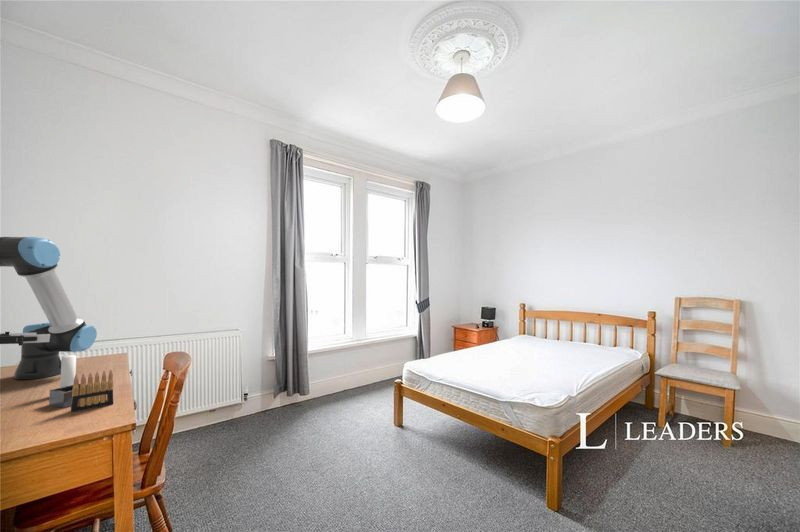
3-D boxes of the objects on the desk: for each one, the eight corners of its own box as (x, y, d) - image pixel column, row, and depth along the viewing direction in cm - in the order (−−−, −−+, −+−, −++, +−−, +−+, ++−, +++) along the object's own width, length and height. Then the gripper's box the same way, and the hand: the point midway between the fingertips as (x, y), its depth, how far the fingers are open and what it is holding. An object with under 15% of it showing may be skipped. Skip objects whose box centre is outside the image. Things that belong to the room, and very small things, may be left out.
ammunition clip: (70, 412, 112) (72, 375, 112) (70, 410, 113) (72, 374, 113) (113, 404, 119) (114, 369, 120) (112, 402, 120) (114, 368, 121)
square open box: (49, 404, 117) (49, 390, 118) (77, 397, 125) (78, 383, 125) (63, 408, 115) (64, 393, 115) (91, 400, 122) (92, 386, 123)
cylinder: (57, 394, 127) (59, 357, 128) (70, 391, 131) (72, 354, 132) (63, 396, 126) (65, 358, 127) (77, 392, 130) (78, 355, 130)
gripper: (-65, 350, 111) (28, 345, 129) (-47, 356, 98) (53, 349, 117) (-60, 327, 112) (32, 325, 130) (-42, 330, 99) (57, 327, 118)
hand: (42, 337), depth 123 cm, fingers open, 13 cm apart
